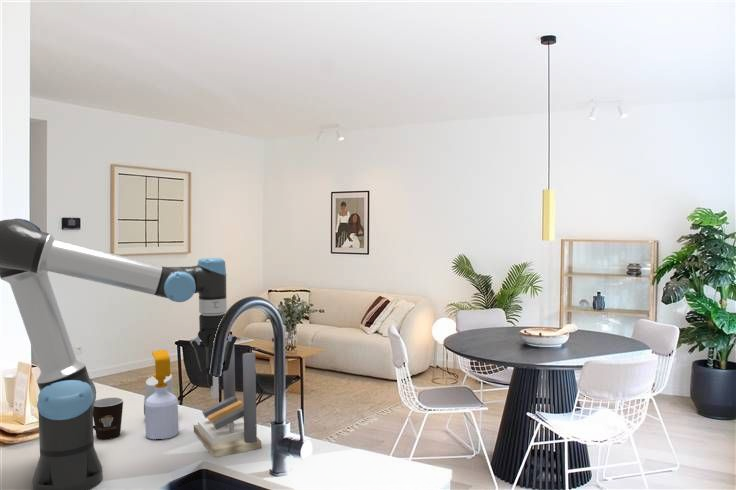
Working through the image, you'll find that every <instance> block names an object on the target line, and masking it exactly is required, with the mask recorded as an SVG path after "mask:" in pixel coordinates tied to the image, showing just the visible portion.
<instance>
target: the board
mask: <svg viewBox="0 0 736 490" xmlns="http://www.w3.org/2000/svg"><path fill="white" fill-rule="evenodd" d="M193 432H194V434H195V436H197V438H198V439H199V441H200V442H201V443H202V444H203V446H204V447H205V448H206V450H208V452H209V453H210V454H211V455H212V457H213V458H217V457H224V456H229V455H232V454H238V453H244V452H248V451H253V450H259V449H261V448H262V440H261V439H260V438H259V437H258V436H257V441H256V442H253V443H246V442H244V439H242V440H237V441H232V442H227V443H222V444H217V445H212V444H211V443H210V442H209V441H208V440H207V438H206V437H205V436H204V435H203V434H202V432H201V431H200V430H199V429H198V424H193Z"/></svg>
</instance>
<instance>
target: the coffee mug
mask: <svg viewBox="0 0 736 490" xmlns="http://www.w3.org/2000/svg"><path fill="white" fill-rule="evenodd" d="M123 409H124V399H123V398H121V397H104V398H99V399H96V400H95V403H94V409H93V431H95V435H96V439H97V440H100V441H103V440H104V441H106V440H107V441H108V440H112V439H117V438H118V437H120V436H121V430H122V418H123Z"/></svg>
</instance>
